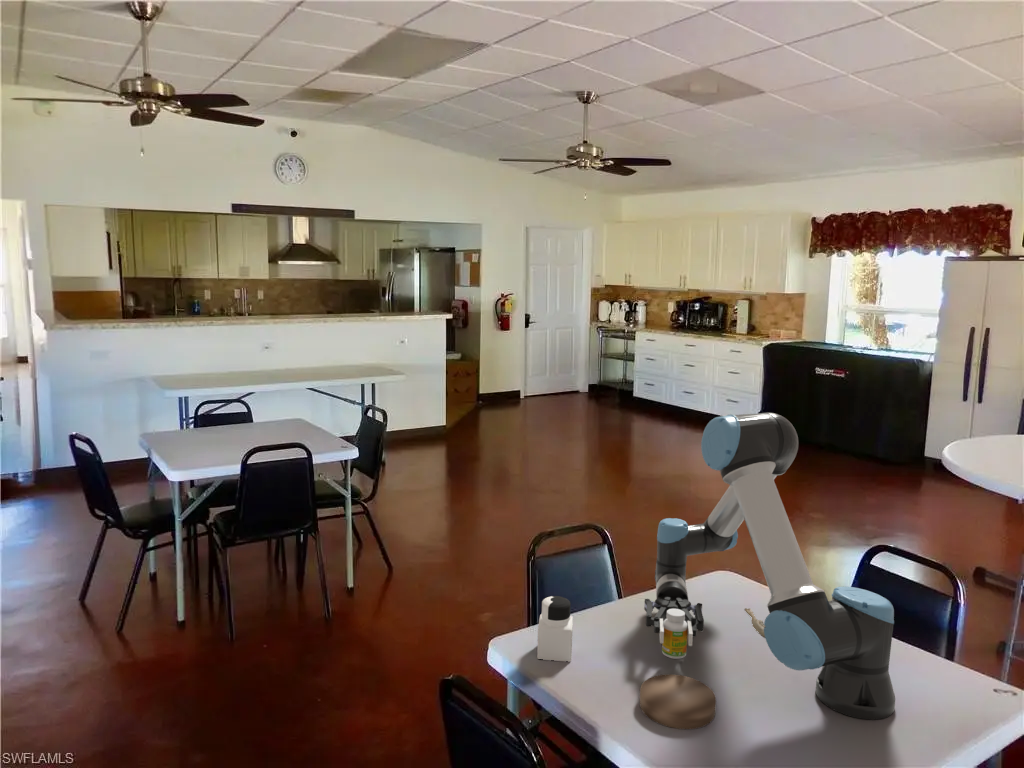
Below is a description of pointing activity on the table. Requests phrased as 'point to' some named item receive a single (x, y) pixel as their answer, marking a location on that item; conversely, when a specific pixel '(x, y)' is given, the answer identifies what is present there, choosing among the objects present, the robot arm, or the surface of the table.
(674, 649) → the supplement bottle
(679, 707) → the walnut base
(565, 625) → the container
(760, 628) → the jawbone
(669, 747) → the table surface
